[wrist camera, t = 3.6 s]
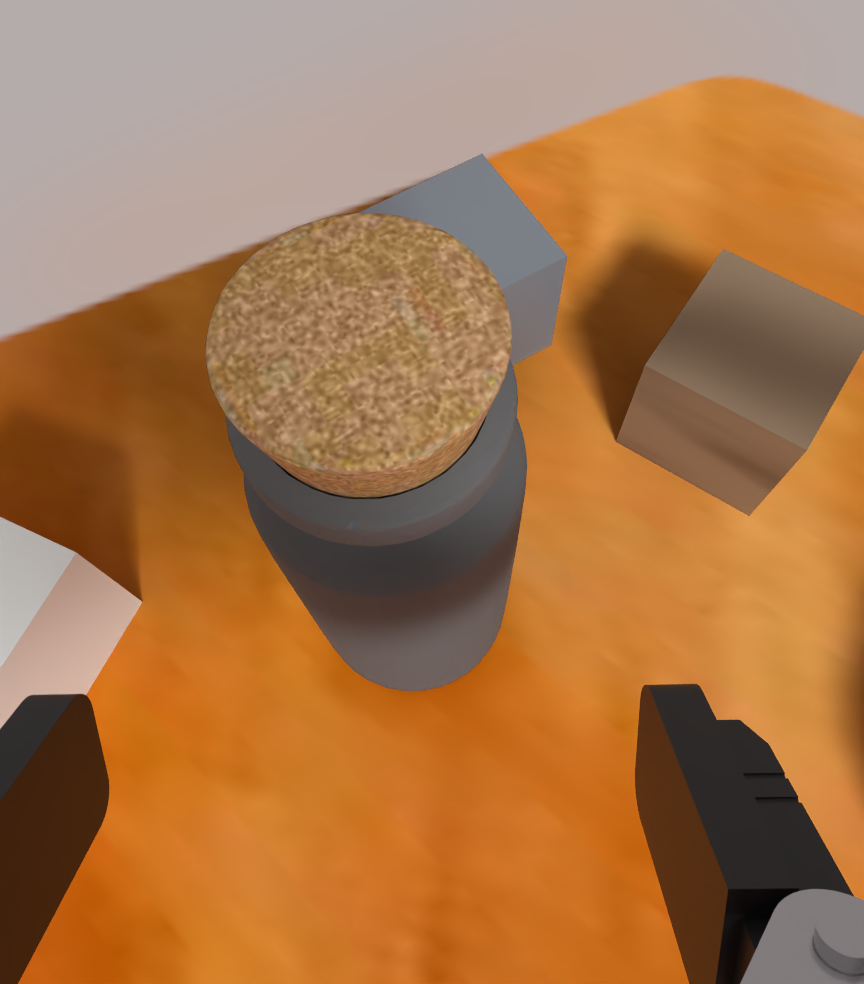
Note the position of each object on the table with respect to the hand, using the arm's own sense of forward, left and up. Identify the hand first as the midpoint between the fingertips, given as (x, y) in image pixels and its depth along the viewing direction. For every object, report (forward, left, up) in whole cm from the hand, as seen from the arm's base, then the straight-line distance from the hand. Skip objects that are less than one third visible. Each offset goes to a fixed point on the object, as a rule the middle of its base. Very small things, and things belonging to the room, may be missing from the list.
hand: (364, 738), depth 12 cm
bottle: (-4, -4, -13) cm, 14 cm away
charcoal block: (-12, -11, -13) cm, 21 cm away
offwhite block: (+6, -11, -13) cm, 19 cm away
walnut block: (-16, -2, -13) cm, 21 cm away
